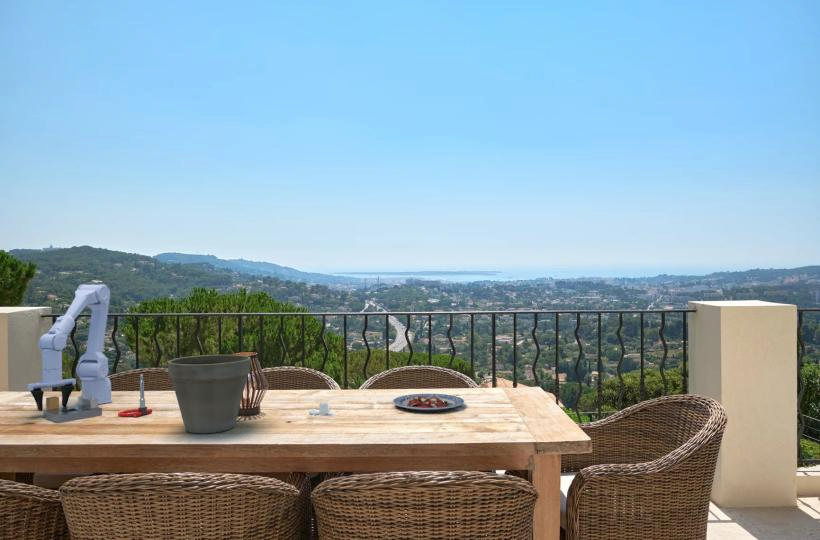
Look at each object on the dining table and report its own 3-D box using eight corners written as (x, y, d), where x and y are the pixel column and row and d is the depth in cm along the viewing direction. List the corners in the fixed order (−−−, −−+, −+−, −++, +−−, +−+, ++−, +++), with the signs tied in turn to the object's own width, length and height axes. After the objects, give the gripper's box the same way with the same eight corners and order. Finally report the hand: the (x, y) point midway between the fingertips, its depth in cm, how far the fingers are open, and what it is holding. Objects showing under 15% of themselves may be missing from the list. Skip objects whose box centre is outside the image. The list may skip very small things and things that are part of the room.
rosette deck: (86, 410, 221) (86, 393, 221) (101, 415, 213) (101, 397, 213) (43, 417, 210) (43, 399, 210) (57, 423, 202) (57, 404, 202)
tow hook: (112, 417, 212) (134, 418, 208) (110, 376, 212) (132, 376, 209) (133, 411, 220) (154, 412, 217) (131, 372, 221) (153, 372, 217)
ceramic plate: (380, 411, 218) (380, 402, 218) (408, 397, 242) (408, 389, 242) (451, 417, 209) (451, 408, 209) (472, 402, 232) (472, 394, 232)
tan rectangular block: (55, 413, 216) (55, 396, 216) (59, 415, 214) (59, 397, 214) (46, 415, 213) (46, 397, 213) (49, 416, 211) (49, 398, 211)
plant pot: (186, 418, 208) (186, 353, 208) (260, 418, 207) (260, 353, 207) (153, 438, 183) (153, 364, 183) (237, 438, 182) (236, 364, 182)
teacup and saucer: (305, 415, 213) (305, 403, 213) (323, 411, 219) (323, 400, 219) (321, 420, 207) (321, 407, 207) (340, 415, 213) (339, 403, 213)
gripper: (69, 365, 222) (69, 403, 222) (24, 370, 210) (24, 410, 210) (78, 366, 217) (78, 406, 217) (32, 372, 206) (32, 413, 206)
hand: (52, 408), depth 213 cm, fingers open, 7 cm apart
